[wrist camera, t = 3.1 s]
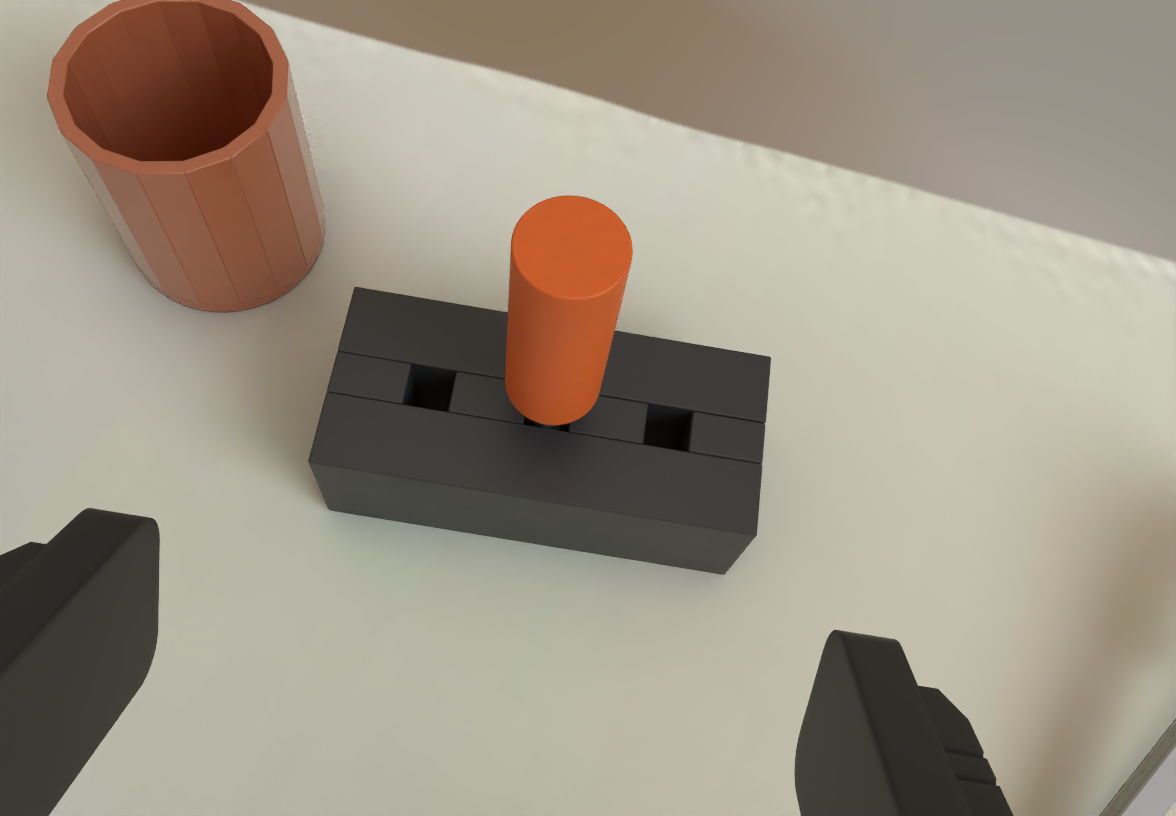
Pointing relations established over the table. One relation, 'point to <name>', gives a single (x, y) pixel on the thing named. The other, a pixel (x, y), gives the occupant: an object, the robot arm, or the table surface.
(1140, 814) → the caliper
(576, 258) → the orange screwdriver
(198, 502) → the table surface
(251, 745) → the table surface
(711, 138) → the table surface
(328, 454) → the holder
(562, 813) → the table surface
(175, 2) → the pen cup
